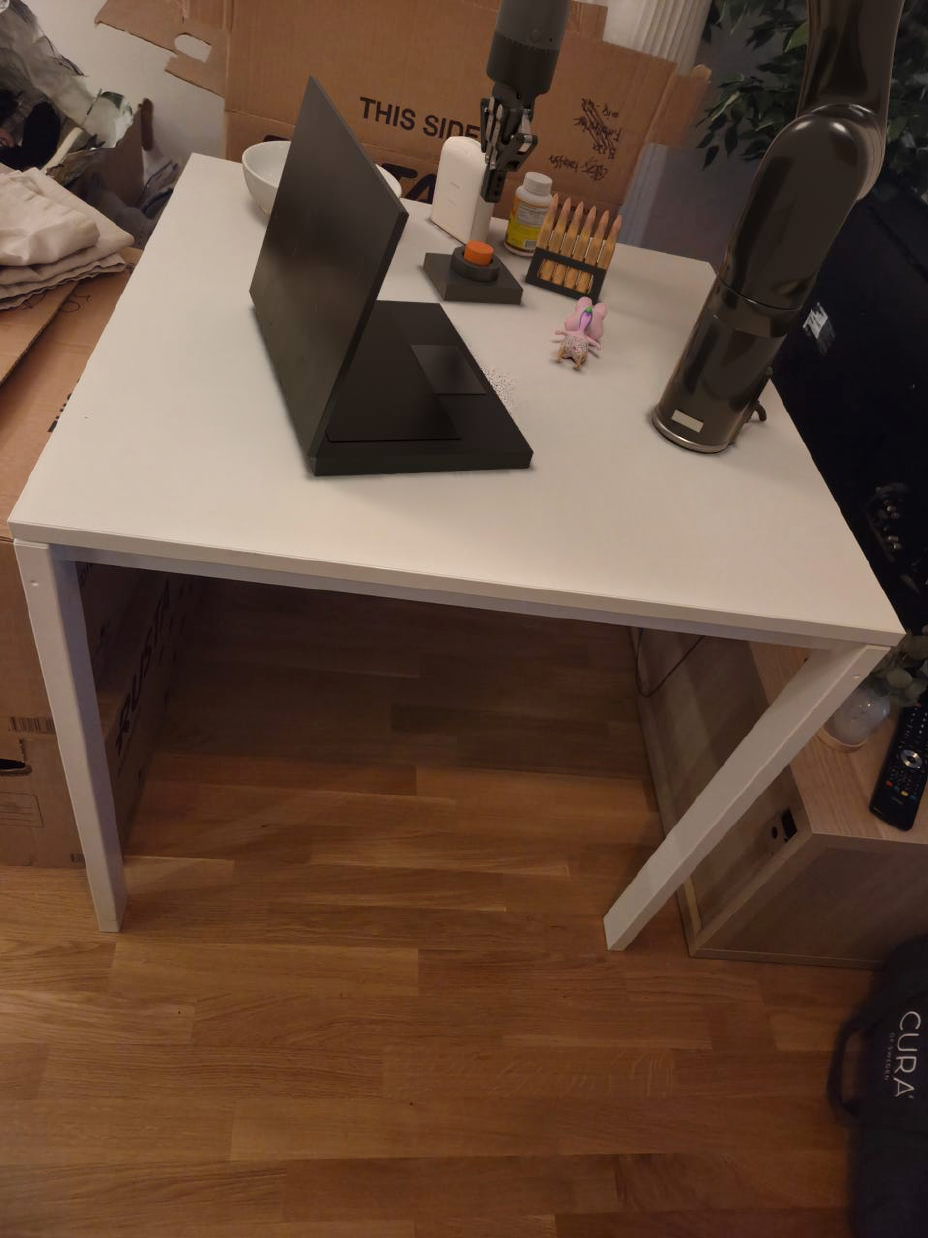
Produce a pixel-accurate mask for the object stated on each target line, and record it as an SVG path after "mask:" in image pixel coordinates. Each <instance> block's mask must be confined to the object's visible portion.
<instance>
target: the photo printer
mask: <svg viewBox="0 0 928 1238" xmlns="http://www.w3.org/2000/svg"><path fill="white" fill-rule="evenodd" d="M485 155H486V153H482V152H481V142H479V141H478V140H475V139H474V138H471V137H468V136H460V135H459V136H449V137H448V138H447V139H446V141H444V144H443V145H442V149H441V152H440V158H439V163H438V168H437V175H436V179H435V180H436V181H435V187H434V192H433V197H432V204H431V205H432V206H431V209H430V220H431V221H432V222H433V223H434V224H436V225H437V226H438V227H440V229H442V230H444V231H445V232H446V233H448V234H449V235H451V236H452V237H454V238H455V239H457V240H458V241H459V242H461V243H463V244H464V245H466V244H467V242H469V241H480V242H483V243H487V242H486V241H487V239H488V235H489V229H490V225H491V221H492V217H493V211H494V208H495V203H488V202H485V201H484V199H483V198H482V197H481V195H480V192H481V188H482V183H483V179H484V175H485V170H486V166H487V164H486V163H485Z"/></svg>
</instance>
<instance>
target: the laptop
mask: <svg viewBox="0 0 928 1238" xmlns="http://www.w3.org/2000/svg"><path fill="white" fill-rule="evenodd" d="M534 454H535V452H534V450H533V449H532V447H531V445H530V444H529V442H528V440H527V439H526V437H525V436H524V434H523V433H522V430H521V429H520V428H519V426H518V425H517V423H516V421H515V420H514V418H513V417H512V415H511V413H510V412H509V410H508V409H507V407H506V406H505V404H504V402H503V401H502V400H501V398H500V397H499V395H498V393H497V391H496V390H495V388H494V387H493V385H492V384H491V381H490V380H489V379H488V377H487V375H486V373H484V371H483V369H482V368H481V366H480V365H479V363H478V362H477V360H476V358H475V357H474V355H473V353H472V351H470V349H469V347H468V345H467V344H466V343H465V341H464V339H463V338H462V336H461V334H460V333H459V332H458V330H457V328H456V327H455V325H454V323H453V322H452V321H451V319H450V317H449V316H448V314H447V312H446V311H445V309H444V308H443V306H442V305H441V303H440V302H425V301H405V300H388V299H387V300H386V299H385V300H384V299H377V300H376V302H375V305H374V308H373V310H372V313H371V315H370V318H369V320H368V323H367V325H366V328H365V331H364V333H363V336H362V338H361V341H360V343H359V346H358V349H357V351H356V354H355V356H354V359H353V361H352V364H351V367H350V369H349V372H348V374H347V377H346V379H345V382H344V385H343V387H342V390H341V392H340V395H339V397H338V400H337V403H336V405H335V408H334V410H333V413H332V415H331V418H330V421H329V423H328V426H327V428H326V431H325V433H324V436H323V438H322V441H321V444H320V446H319V449H318V451H317V454H316V456H315V458H313V457H307V459H308V461H309V465H310V468H311V470H312V473H313V475H314V477H328V476H329V477H332V476H353V475H354V476H356V475H357V476H358V475H359V476H360V475H381V474H384V475H385V474H407V473H408V474H409V473H411V474H412V473H431V472H432V473H433V472H459V471H461V472H462V471H486V470H487V471H488V470H515V469H516V470H517V469H529V467H530V465H531V463H532V459H533V456H534Z"/></svg>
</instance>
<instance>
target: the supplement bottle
mask: <svg viewBox="0 0 928 1238" xmlns="http://www.w3.org/2000/svg"><path fill="white" fill-rule="evenodd" d="M552 185H553V179H552V178H551V177H550V176H548V175H546V174H543V173H540V172H536V171H528V172H526V173H525V176H524V179H523V183H522V185H520V186H518V187H517V188H516V190H515V193H514V196H513V202H512V205H511V210H510V213H509V217H508V221H507V226H506V230H505V234H504V239H503V245H504V247H505V248H506V249H507V251H509V252H511V253H512V254H515V255H517V256H521V257H533V254H534V250H535V247H536V243H537V240H538V236H539V233H540V229H541V226H542V224H543V222H544V219H545V216H546V214H547V211H548V208H549V205H550V203H551V200H552V199H553V197H554V196H553V195H552V194H551V189H552Z"/></svg>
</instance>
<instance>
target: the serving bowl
mask: <svg viewBox="0 0 928 1238" xmlns="http://www.w3.org/2000/svg"><path fill="white" fill-rule="evenodd" d="M290 144H291V140H272V141H264V142H260V143H256V144H254V145H251V146H249V147H248V148H247V149H245V150H244V152H242V156H241V164H242V172H243V177H244V182H245V185H246V187H247V190H248V192H249V194H250V195H251V196H252V199H253V201H254V202H255V203H256V204H257V206H259V208H261V210H262V211H263V212H265V213H266V214H267V215H268V216H270V215H271V211H272V208H273V204H274V200H275V197H276V193H277V190H278V186H279V183H280V179H281V176H282V172H283V168H284V165H285V161H286V158H287V154H288V151H289V147H290ZM375 165H376V166H377V168H378V169H379V171H380V172H381V173H382V175H383V176H384V178H385V179H386V181H387V182H388V184H389V185H390V187H391V188H392V190H393V191H394V193H395V194H396V196H397V197H398V198H399V200H400V201H401V199H402V194H403V190H402V186H401V184H400V182H399V181H398V180H397V179H396V177H395V176H393V175H392V174H391V173H390V172H389V171H387V170H386V168H385V169H384V168H383V167H382V166H381V165H378V164H376V163H375Z"/></svg>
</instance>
